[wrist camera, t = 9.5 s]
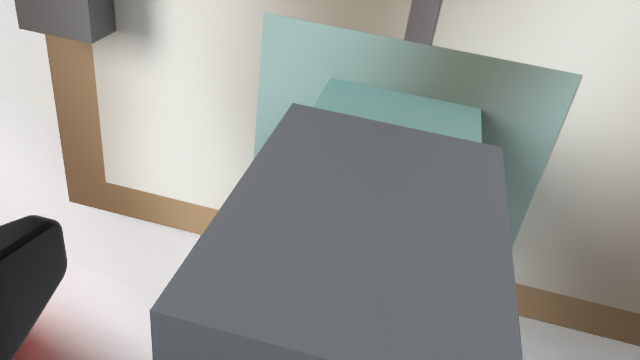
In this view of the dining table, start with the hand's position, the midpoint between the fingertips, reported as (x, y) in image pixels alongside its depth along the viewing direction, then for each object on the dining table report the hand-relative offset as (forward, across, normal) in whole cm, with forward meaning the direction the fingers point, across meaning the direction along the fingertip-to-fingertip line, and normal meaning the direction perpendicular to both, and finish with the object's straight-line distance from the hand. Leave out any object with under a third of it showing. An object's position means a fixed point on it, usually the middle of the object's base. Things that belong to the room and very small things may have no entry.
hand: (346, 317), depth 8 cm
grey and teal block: (+5, 0, 0) cm, 5 cm away
